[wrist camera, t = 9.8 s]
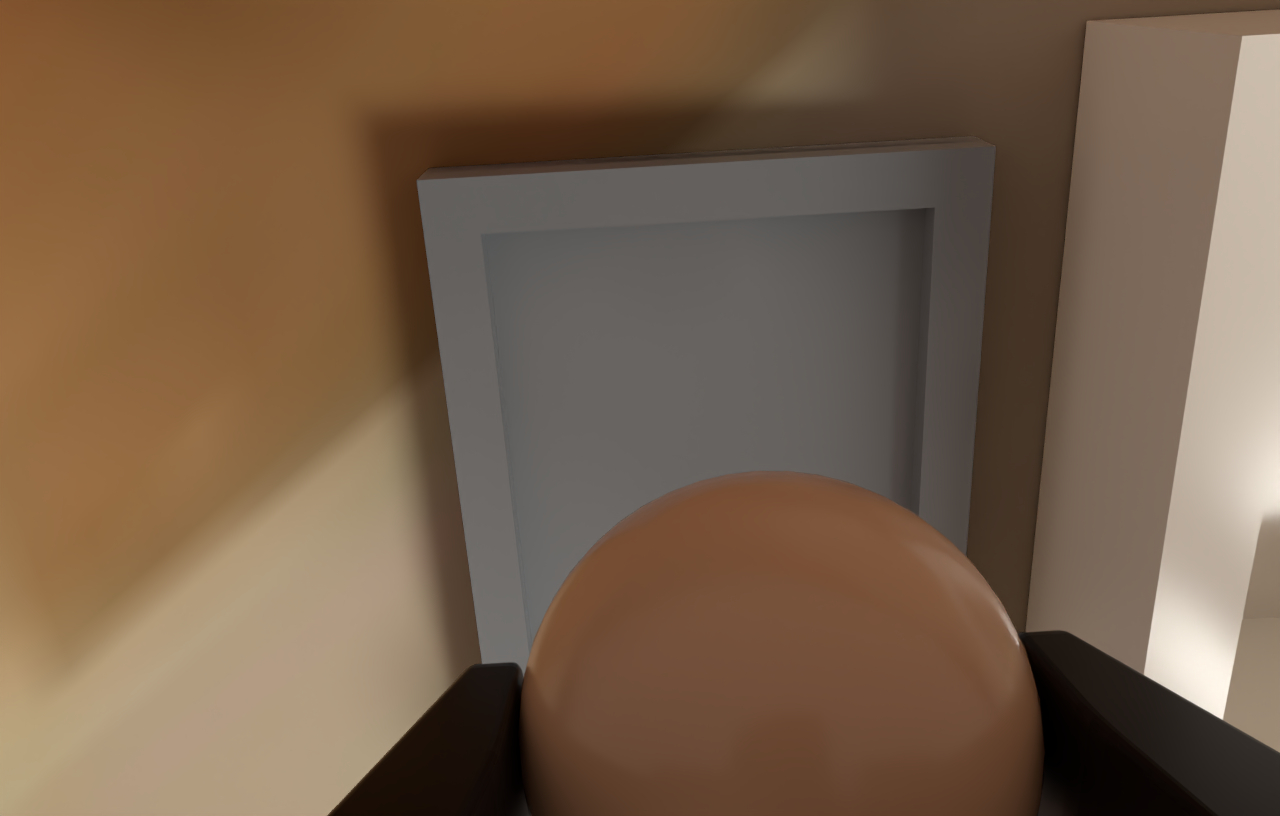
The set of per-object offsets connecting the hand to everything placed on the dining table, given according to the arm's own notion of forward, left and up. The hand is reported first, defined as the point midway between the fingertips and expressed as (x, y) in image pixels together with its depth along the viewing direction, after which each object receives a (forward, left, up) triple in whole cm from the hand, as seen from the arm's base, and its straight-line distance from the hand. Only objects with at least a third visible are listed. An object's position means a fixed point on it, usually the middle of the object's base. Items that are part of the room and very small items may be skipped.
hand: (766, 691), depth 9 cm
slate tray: (-5, 0, -8) cm, 10 cm away
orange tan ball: (0, 0, -2) cm, 2 cm away
